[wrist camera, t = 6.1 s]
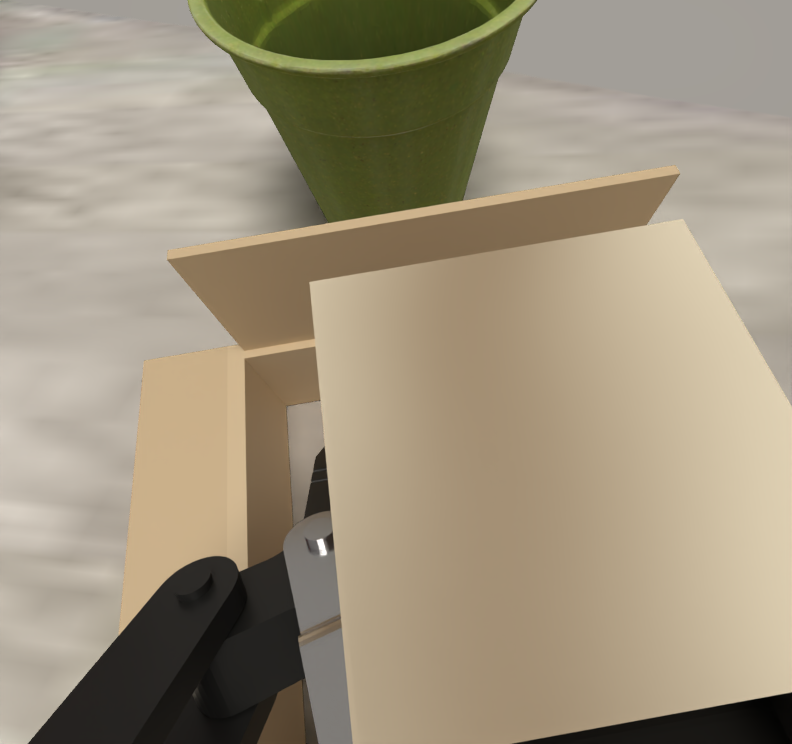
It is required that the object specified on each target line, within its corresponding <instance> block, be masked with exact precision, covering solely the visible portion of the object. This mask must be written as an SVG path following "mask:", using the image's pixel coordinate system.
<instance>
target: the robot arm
mask: <svg viewBox="0 0 792 744" xmlns="http://www.w3.org/2000/svg"><path fill="white" fill-rule="evenodd" d="M313 470H314V472H313V474H312V480H311V481H312V483H311V485H310V490H309V495H308V500H307V506H306V511H305V516H304V519H303V520H302V521H300V522H299V523H297V524H296V525H295V526H294V527H293V528H292V529H291V530H290V531H289V533H288V534H287V536H286V538H285V540H284V544H283V551H282V552H280V553H279V554H277V555H275V556H274V557H272V558H270V559H268V560H266V561H263V562H261V563H259V564H256V565H254V566H251V567H249V568H247V569H244V570H242V571H240V572H239V570H238V568H237V565H236V563H235V562H234V561H233V560H231V559H230V558H227V557H224V556H211V557H206V558H202V559H199V560H196V561H194V562H192V563H190V564H188V565H186V566H184V567H182V568H181V569H179V570H178V571H176V572H175V573H174V574H172V575H171V576H170V577H169V578H168V579H167V580H166V581H165V582H164V583H163V584H162V585H161V586H160V587H159V588H158V590H157V591H156V592H155V593H154V594H153V596H152V597H151V598H150V599H149V600H148V602H147V603H146V604H145V605H144V606H143V607H142V609H141V610H140V611H139V612H138V613H137V615H136V616H135V617H134V618H133V619H132V621H131V622H130V623H129V624H128V625H127V627H126V628H125V629H124V630H123V631H122V632H121V634H120V635H119V636H118V637H117V638H116V640H115V641H114V642H113V643H112V644H111V646H110V647H109V648H108V649H107V650H106V651H105V653H104V654H103V655H102V656H101V657H100V659H99V660H98V661H97V662H96V663H95V665H94V666H93V667H92V668H91V669H90V670H89V672H88V673H87V674H86V675H85V676H84V678H83V679H82V680H81V681H80V682H79V684H78V685H77V686H76V687H75V688H74V690H73V691H72V692H71V693H70V694H69V695H68V697H67V698H66V699H65V700H64V701H63V703H62V704H61V705H60V706H59V707H58V709H57V710H56V711H55V712H54V713H53V714H52V716H51V717H50V718H49V719H48V720H47V722H46V723H45V724H44V725H43V726H42V728H41V729H40V730H39V731H38V732H37V733H36V735H35V736H34V737H33V738H32V739H31V741H30V742H29V743H28V744H257V742H258V740H259V738H260V735H261V733H262V731H263V728H264V726H265V724H266V721H267V719H268V717H269V714H270V712H271V710H272V707H273V705H274V703H275V700H276V697H277V694H278V692H280V691H282V690H283V689H285V688H287V687H289V686H291V685H293V684H295V683H297V682H298V681H300V680H302V679H304V678H306V683H307V688H308V693H309V698H310V703H311V708H312V713H313V718H314V723H315V728H316V733H317V738H318V743H319V744H353V741H352V730H351V719H350V709H349V698H348V687H347V677H346V666H345V655H344V645H343V634H342V623H341V613H340V602H339V592H338V581H337V570H336V560H335V549H334V538H333V528H332V517H331V506H330V496H329V485H328V474H327V464H326V453H325V447H324V448H323V449H322V450H321V452H320V453H319V454H318V455H317V456H316V459H315V464H314V469H313ZM512 744H792V692H790V693H785V694H779V695H774V696H769V697H763V698H758V699H752V700H747V701H741V702H736V703H730V704H725V705H720V706H714V707H709V708H703V709H698V710H692V711H687V712H681V713H676V714H670V715H665V716H660V717H654V718H649V719H643V720H638V721H632V722H627V723H621V724H616V725H611V726H605V727H600V728H594V729H589V730H583V731H578V732H572V733H567V734H562V735H556V736H551V737H545V738H540V739H534V740H529V741H523V742H518V743H512Z"/></svg>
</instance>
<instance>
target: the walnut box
mask: <svg viewBox="0 0 792 744" xmlns="http://www.w3.org/2000/svg"><path fill="white" fill-rule="evenodd" d="M309 283H310V293H311V304H312V315H313V325H314V336H315V347H316V357H317V368H318V379H319V389H320V400H321V410H322V421H323V432H324V442H325V453H326V464H327V474H328V485H329V496H330V506H331V517H332V528H333V538H334V549H335V560H336V570H337V581H338V592H339V602H340V613H341V623H342V634H343V645H344V655H345V666H346V677H347V687H348V698H349V709H350V719H351V730H352V741H353V744H512V743H518V742H523V741H529V740H534V739H540V738H545V737H551V736H556V735H562V734H567V733H572V732H578V731H583V730H589V729H594V728H600V727H605V726H611V725H616V724H621V723H627V722H632V721H638V720H643V719H649V718H654V717H660V716H665V715H670V714H676V713H681V712H687V711H692V710H698V709H703V708H709V707H714V706H720V705H725V704H730V703H736V702H741V701H747V700H752V699H758V698H763V697H769V696H774V695H779V694H785V693H790V692H792V406H791V405H790V403H789V401H788V399H787V398H786V396H785V394H784V392H783V391H782V389H781V387H780V386H779V384H778V382H777V380H776V379H775V377H774V375H773V373H772V372H771V370H770V368H769V367H768V365H767V363H766V361H765V360H764V358H763V356H762V355H761V353H760V351H759V349H758V348H757V346H756V344H755V342H754V341H753V339H752V337H751V336H750V334H749V332H748V330H747V329H746V327H745V325H744V323H743V322H742V320H741V318H740V317H739V315H738V313H737V311H736V310H735V308H734V306H733V304H732V303H731V301H730V299H729V298H728V296H727V294H726V292H725V291H724V289H723V287H722V286H721V284H720V282H719V280H718V279H717V277H716V275H715V273H714V272H713V270H712V268H711V267H710V265H709V263H708V261H707V260H706V258H705V256H704V254H703V253H702V251H701V249H700V248H699V246H698V244H697V242H696V241H695V239H694V237H693V236H692V234H691V232H690V230H689V229H688V227H687V225H686V223H685V222H684V220H683V219H680V220H674V221H668V222H662V223H657V224H651V225H645V226H639V227H633V228H627V229H621V230H615V231H609V232H603V233H597V234H591V235H585V236H579V237H573V238H568V239H562V240H556V241H550V242H544V243H538V244H532V245H526V246H520V247H514V248H508V249H502V250H496V251H490V252H484V253H478V254H473V255H467V256H461V257H455V258H449V259H443V260H437V261H431V262H425V263H419V264H413V265H407V266H401V267H395V268H389V269H384V270H378V271H372V272H366V273H360V274H354V275H348V276H342V277H336V278H330V279H324V280H318V281H312V282H309Z"/></svg>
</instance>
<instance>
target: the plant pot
mask: <svg viewBox="0 0 792 744" xmlns="http://www.w3.org/2000/svg"><path fill="white" fill-rule="evenodd" d="M536 1H537V0H188V5H189V8H190V12H191V14H192V16H193V18H194V20H195V22H196V23H197V25H198V27H199V28H200V29H201V30H202V32H203V33H204V34H205V35H206V36H207V37H208V38H209V39H210V40H211V41H212V42H213V43H214V44H215V45H217V46H218V47H220V48H221V49H222V50H224V51H225V52H227V53H228V54H230V56H231V58H232V59H233V61H234V63H235V64H236V66H237V68H238V70H239V71H240V73H241V75H242V77H243V78H244V80H245V82H246V84H247V85H248V87H249V89H250V90H251V92H252V94H253V95H254V96H255V97H256V99H257V100H258V101H259V102H260V103H261V104H262V105H263V106H264V107H265V108H266V109H267V111H268V113H269V115H270V117H271V118H272V120H273V122H274V124H275V126H276V127H277V129H278V131H279V133H280V135H281V137H282V138H283V140H284V142H285V144H286V146H287V148H288V149H289V151H290V153H291V155H292V157H293V159H294V160H295V162H296V164H297V166H298V168H299V170H300V171H301V173H302V175H303V177H304V179H305V181H306V182H307V184H308V186H309V188H310V190H311V192H312V193H313V195H314V197H315V199H316V201H317V203H318V205H319V206H320V208H321V210H322V212H323V214H324V216H325V217H326V219H327V221H328V223H333V222H339V221H345V220H351V219H357V218H363V217H369V216H375V215H381V214H387V213H393V212H399V211H405V210H411V209H417V208H423V207H429V206H434V205H440V204H446V203H452V202H458V201H463V197H464V194H465V190H466V187H467V183H468V179H469V176H470V173H471V169H472V166H473V162H474V159H475V155H476V152H477V149H478V145H479V142H480V138H481V135H482V132H483V128H484V125H485V121H486V118H487V114H488V111H489V108H490V104H491V101H492V98H493V94H494V91H495V88H496V84H497V81H498V78H499V76H500V75H501V73H502V72H503V70H504V69H505V66H506V65H507V62H508V60H509V57H510V55H511V51H512V48H513V45H514V42H515V39H516V36H517V32H518V29H519V26H520V23H521V20H522V17H523V16H524V15H525V14H526V13H527V12H528V11H529V9H530V8H531V7H532V6H533V5H534V4H535V2H536Z"/></svg>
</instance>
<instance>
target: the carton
mask: <svg viewBox="0 0 792 744" xmlns="http://www.w3.org/2000/svg"><path fill="white" fill-rule="evenodd" d="M679 175H680V172H679V170H678V169H677V167H676V165H673V166H667V167H661V168H655V169H649V170H643V171H637V172H631V173H625V174H619V175H613V176H607V177H601V178H595V179H589V180H584V181H578V182H572V183H566V184H560V185H554V186H548V187H542V188H536V189H530V190H524V191H518V192H512V193H506V194H500V195H494V196H488V197H482V198H476V199H470V200H464V201H458V202H452V203H446V204H440V205H434V206H429V207H423V208H417V209H411V210H405V211H399V212H393V213H387V214H381V215H375V216H369V217H363V218H357V219H351V220H345V221H339V222H333V223H327V224H321V225H315V226H309V227H303V228H297V229H291V230H285V231H279V232H274V233H268V234H262V235H256V236H250V237H244V238H238V239H232V240H226V241H220V242H214V243H208V244H202V245H196V246H190V247H184V248H178V249H172V250H168V253H167V260H168V261H169V263H170V264H171V265H172V266H173V267H174V269H175V270H176V271H177V272H178V273H179V274H180V276H181V277H182V278H183V279H184V280H185V282H186V283H187V284H188V285H189V286H190V287H191V289H192V290H193V291H194V292H195V293H196V295H197V296H198V297H199V298H200V299H201V300H202V302H203V303H204V304H205V305H206V306H207V308H208V309H209V310H210V311H211V312H212V313H213V315H214V316H215V317H216V318H217V319H218V321H219V322H220V323H221V324H222V325H223V326H224V328H225V329H226V330H227V331H228V332H229V334H230V335H231V336H232V337H233V338H234V339H235V341H236V342H237V343H238V344H239V345H233V346H227V347H221V348H216V349H210V350H204V351H198V352H192V353H186V354H180V355H175V356H169V357H163V358H157V359H151V360H145V361H144V367H143V378H142V388H141V399H140V410H139V421H138V431H137V442H136V453H135V464H134V474H133V485H132V496H131V507H130V517H129V528H128V539H127V550H126V560H125V571H124V582H123V593H122V603H121V614H120V625H119V635H120V634H121V632H122V631H123V630H124V629H125V628H126V627H127V625H128V624H129V623H130V622H131V621H132V619H133V618H134V617H135V616H136V615H137V613H138V612H139V611H140V610H141V609H142V607H143V606H144V605H145V604H146V603H147V602H148V600H149V599H150V598H151V597H152V596H153V594H154V593H155V592H156V591H157V590H158V588H159V587H160V586H161V585H162V584H163V583H164V582H165V581H166V580H167V579H168V578H169V577H170V576H171V575H172V574H174V573H175V572H176V571H178V570H179V569H181V568H182V567H184V566H186V565H188V564H190V563H192V562H194V561H196V560H199V559H202V558H206V557H211V556H224V557H227V558H230V559H231V560H233V561H234V562H235V563H236V565H237V568H238V570H239V572H240V571H242V570H244V569H247V568H249V567H251V566H254V565H256V564H259V563H261V562H263V561H266V560H268V559H270V558H272V557H274V556H275V555H277V554H279V553H280V552H282V551H283V544H284V540H285V538H286V536H287V534H288V533H289V531H290V530H291V529H292V528H293V515H292V498H291V481H290V464H289V446H288V429H287V412H286V406H289V405H295V404H301V403H307V402H313V401H318V400H320V389H319V379H318V368H317V357H316V347H315V336H314V325H313V315H312V304H311V293H310V283H309V282H312V281H318V280H324V279H330V278H336V277H342V276H348V275H354V274H360V273H366V272H372V271H378V270H384V269H389V268H395V267H401V266H407V265H413V264H419V263H425V262H431V261H437V260H443V259H449V258H455V257H461V256H467V255H473V254H478V253H484V252H490V251H496V250H502V249H508V248H514V247H520V246H526V245H532V244H538V243H544V242H550V241H556V240H562V239H568V238H573V237H579V236H585V235H591V234H597V233H603V232H609V231H615V230H621V229H627V228H633V227H639V226H645V225H647V223H648V222H649V220H650V219H651V217H652V216H653V214H654V213H655V211H656V210H657V208H658V207H659V205H660V204H661V202H662V201H663V199H664V198H665V196H666V195H667V193H668V192H669V190H670V189H671V187H672V185H673V184H674V182H675V181H676V179H677V178H678V176H679ZM257 744H306V739H305V722H304V705H303V687H302V680H300V681H298V682H297V683H295V684H293V685H291V686H289V687H287V688H285V689H283V690H282V691H280V692H278V694H277V697H276V700H275V703H274V705H273V707H272V710H271V712H270V714H269V717H268V719H267V721H266V724H265V726H264V728H263V731H262V733H261V735H260V738H259V740H258V742H257Z"/></svg>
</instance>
